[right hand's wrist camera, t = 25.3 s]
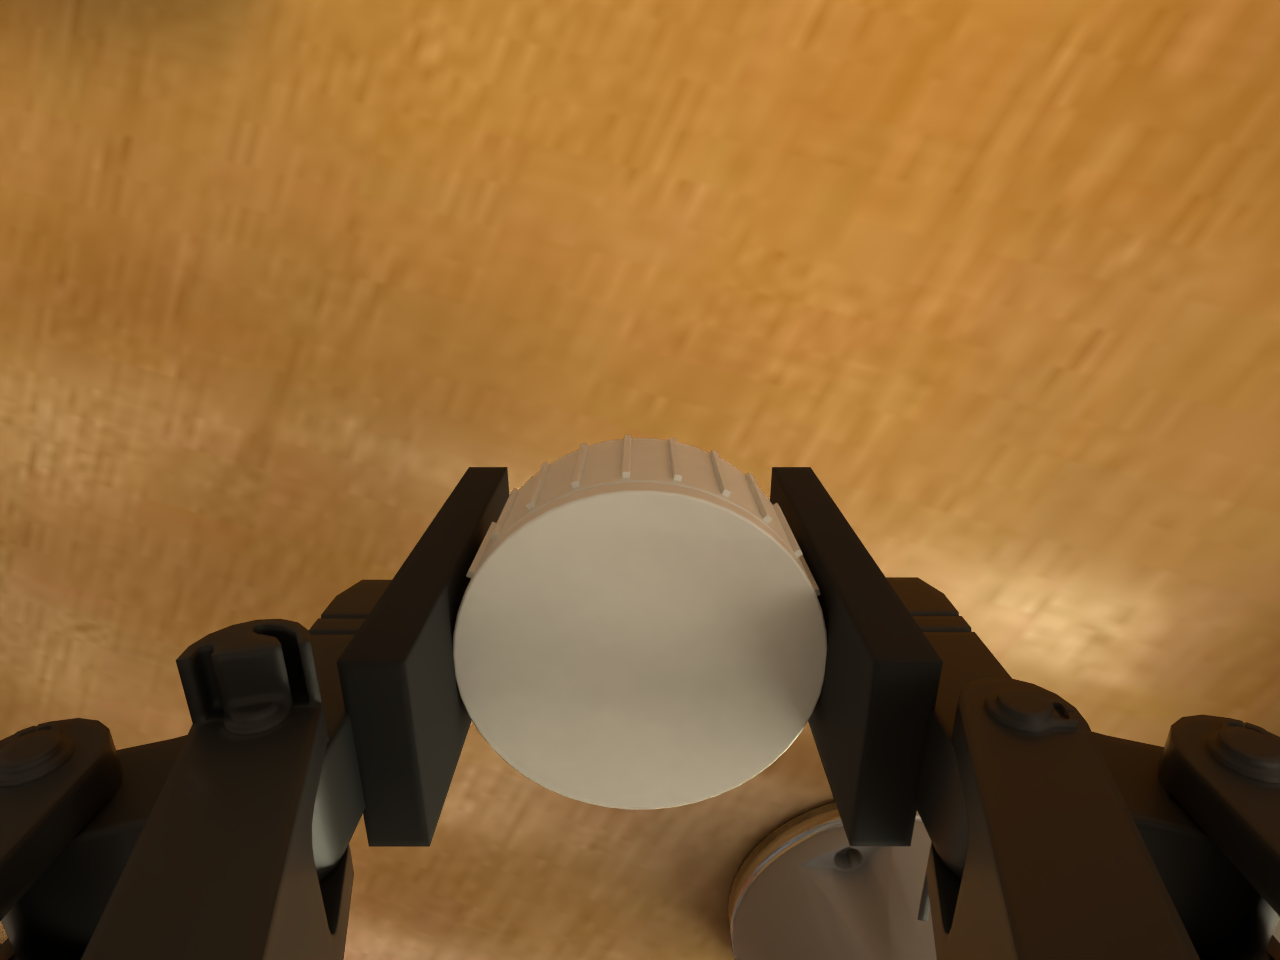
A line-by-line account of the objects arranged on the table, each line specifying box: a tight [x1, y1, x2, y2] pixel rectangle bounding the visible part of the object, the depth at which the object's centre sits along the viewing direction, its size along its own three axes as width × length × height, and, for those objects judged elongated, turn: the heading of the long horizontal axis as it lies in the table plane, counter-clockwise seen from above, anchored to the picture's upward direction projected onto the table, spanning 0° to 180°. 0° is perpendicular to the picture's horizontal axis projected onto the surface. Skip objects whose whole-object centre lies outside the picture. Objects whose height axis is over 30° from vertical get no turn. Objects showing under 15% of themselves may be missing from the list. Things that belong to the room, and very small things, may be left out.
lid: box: [453, 435, 827, 810], centre depth 11 cm, size 5×5×2 cm
